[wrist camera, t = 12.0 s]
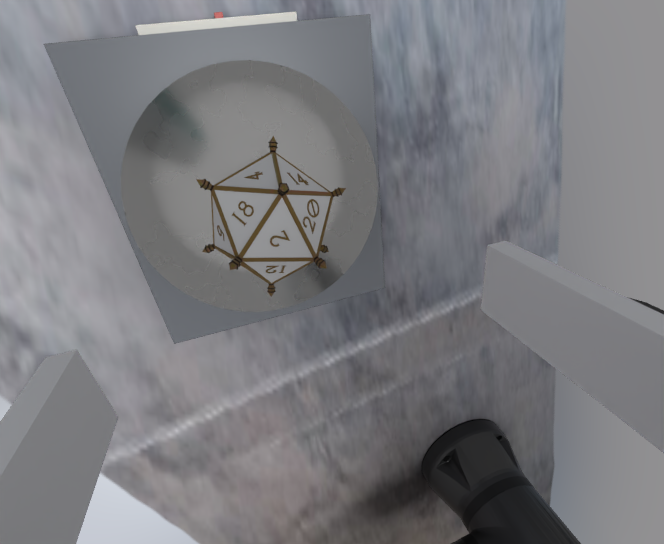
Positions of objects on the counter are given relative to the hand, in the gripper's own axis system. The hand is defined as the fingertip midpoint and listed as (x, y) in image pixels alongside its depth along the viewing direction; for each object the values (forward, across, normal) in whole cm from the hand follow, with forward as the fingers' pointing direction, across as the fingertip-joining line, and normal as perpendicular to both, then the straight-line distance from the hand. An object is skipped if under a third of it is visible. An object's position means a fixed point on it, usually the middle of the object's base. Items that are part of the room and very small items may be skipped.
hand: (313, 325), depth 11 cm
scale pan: (+17, 0, 0) cm, 17 cm away
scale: (+22, 0, 0) cm, 22 cm away
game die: (+16, 0, 0) cm, 16 cm away
